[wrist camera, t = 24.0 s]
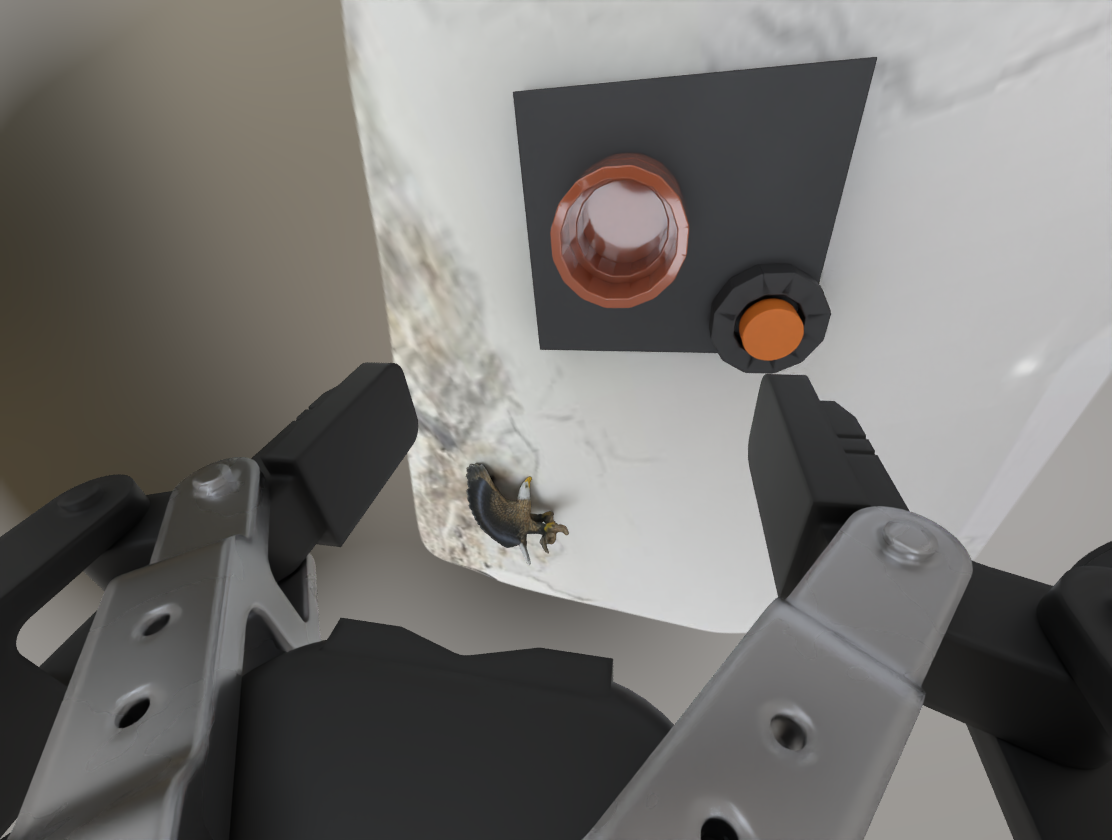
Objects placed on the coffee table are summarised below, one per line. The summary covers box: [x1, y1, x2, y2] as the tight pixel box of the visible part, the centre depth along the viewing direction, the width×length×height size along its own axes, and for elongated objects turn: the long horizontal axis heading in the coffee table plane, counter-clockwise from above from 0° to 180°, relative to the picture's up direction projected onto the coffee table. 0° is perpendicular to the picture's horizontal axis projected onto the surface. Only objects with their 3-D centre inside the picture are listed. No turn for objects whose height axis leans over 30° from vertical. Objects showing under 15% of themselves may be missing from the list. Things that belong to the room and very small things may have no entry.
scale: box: [513, 57, 877, 373], centre depth 25 cm, size 16×14×4 cm
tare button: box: [739, 298, 804, 361], centre depth 25 cm, size 3×3×2 cm
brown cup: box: [550, 153, 689, 308], centre depth 23 cm, size 6×6×5 cm
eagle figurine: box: [466, 464, 569, 565], centre depth 39 cm, size 8×7×9 cm
